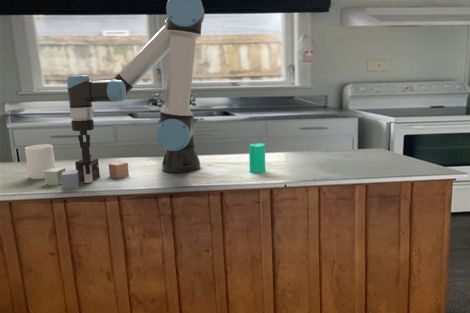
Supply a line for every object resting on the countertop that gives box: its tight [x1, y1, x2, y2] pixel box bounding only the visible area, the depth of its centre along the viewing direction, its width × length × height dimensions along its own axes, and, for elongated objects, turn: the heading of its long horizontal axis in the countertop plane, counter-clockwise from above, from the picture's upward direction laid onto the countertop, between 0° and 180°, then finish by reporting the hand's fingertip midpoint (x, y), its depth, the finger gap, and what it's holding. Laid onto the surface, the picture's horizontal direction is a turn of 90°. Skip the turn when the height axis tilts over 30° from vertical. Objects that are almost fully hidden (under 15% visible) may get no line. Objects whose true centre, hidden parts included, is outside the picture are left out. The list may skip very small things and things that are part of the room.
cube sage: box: [44, 167, 66, 186], centre depth 146 cm, size 5×5×5 cm
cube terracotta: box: [108, 161, 130, 179], centre depth 154 cm, size 5×5×5 cm
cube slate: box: [61, 169, 81, 190], centre depth 142 cm, size 5×5×5 cm
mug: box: [24, 143, 56, 180], centre depth 157 cm, size 10×12×12 cm
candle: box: [248, 142, 266, 174], centre depth 155 cm, size 6×6×12 cm
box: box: [74, 158, 101, 182], centre depth 150 cm, size 6×6×7 cm
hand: (88, 178), depth 151 cm, fingers open, 11 cm apart
